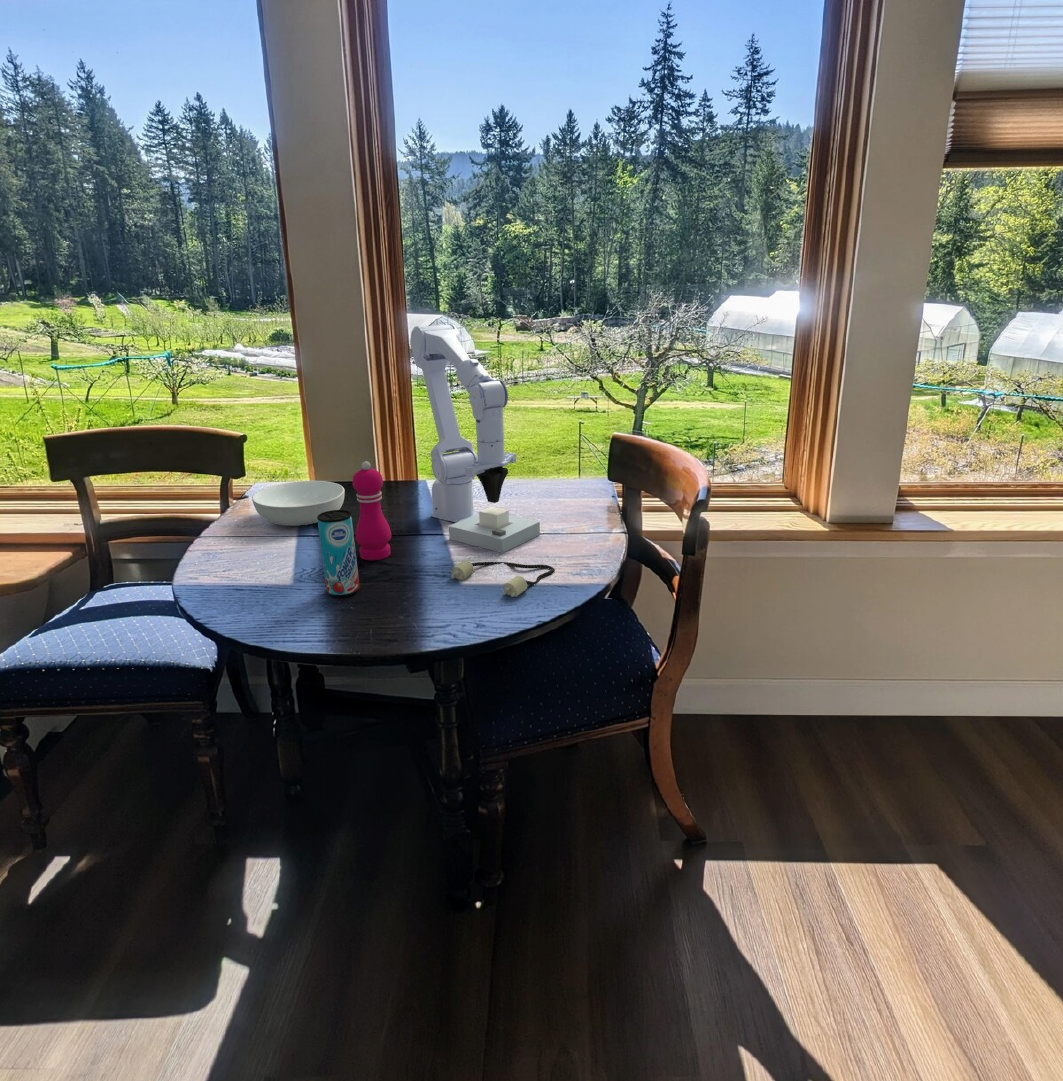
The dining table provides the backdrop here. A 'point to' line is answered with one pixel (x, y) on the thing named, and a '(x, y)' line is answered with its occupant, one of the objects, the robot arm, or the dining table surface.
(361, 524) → the pepper mill
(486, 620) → the dining table surface
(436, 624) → the dining table surface
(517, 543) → the socket plate
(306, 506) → the serving bowl
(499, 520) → the cream rectangular block
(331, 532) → the beverage can
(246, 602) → the dining table surface
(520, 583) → the cable
